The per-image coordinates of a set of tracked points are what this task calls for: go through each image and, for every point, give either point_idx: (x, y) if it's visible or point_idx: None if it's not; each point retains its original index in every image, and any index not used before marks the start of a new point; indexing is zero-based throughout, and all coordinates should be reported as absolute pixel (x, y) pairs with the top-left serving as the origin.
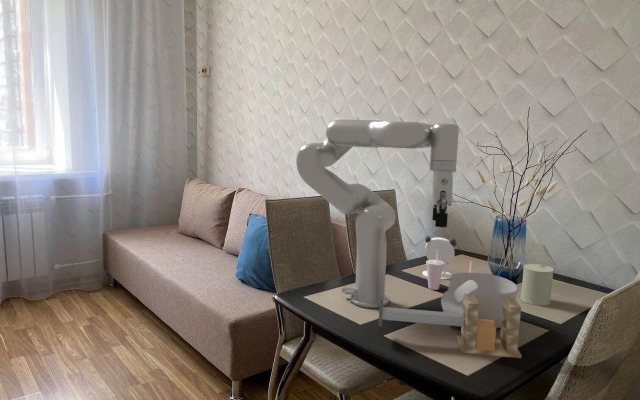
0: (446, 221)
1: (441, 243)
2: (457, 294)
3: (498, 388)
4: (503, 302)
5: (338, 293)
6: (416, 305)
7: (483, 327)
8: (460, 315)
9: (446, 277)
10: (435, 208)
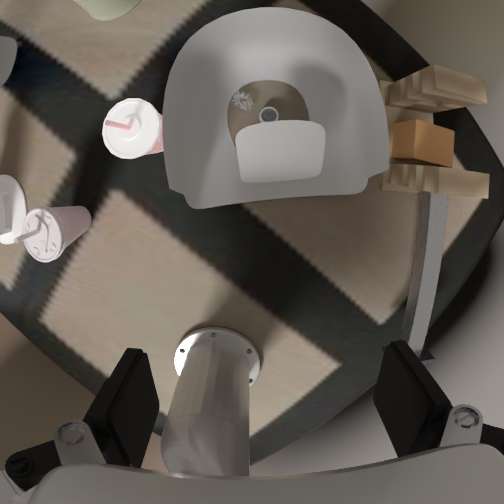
0: (418, 365)
1: None
2: (271, 176)
3: (500, 163)
4: (431, 91)
5: None
6: (211, 265)
7: (452, 155)
8: (440, 200)
9: (14, 187)
10: (133, 466)
